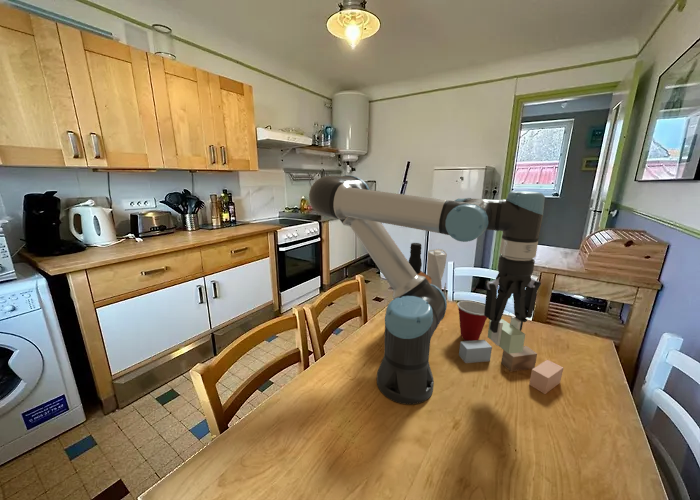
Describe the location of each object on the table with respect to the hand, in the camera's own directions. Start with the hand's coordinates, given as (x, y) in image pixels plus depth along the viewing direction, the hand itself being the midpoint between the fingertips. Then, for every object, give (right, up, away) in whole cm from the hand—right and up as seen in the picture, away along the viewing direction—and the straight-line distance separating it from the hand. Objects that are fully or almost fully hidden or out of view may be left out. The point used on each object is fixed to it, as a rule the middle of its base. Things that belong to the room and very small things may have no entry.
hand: (503, 341), depth 75 cm
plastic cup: (+2, -7, +25) cm, 26 cm away
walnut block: (+10, -11, +10) cm, 18 cm away
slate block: (-2, -10, +14) cm, 17 cm away
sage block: (0, -1, 0) cm, 1 cm away
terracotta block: (+13, -13, +3) cm, 18 cm away
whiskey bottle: (-17, -5, +32) cm, 37 cm away
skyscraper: (-6, -2, +44) cm, 44 cm away
